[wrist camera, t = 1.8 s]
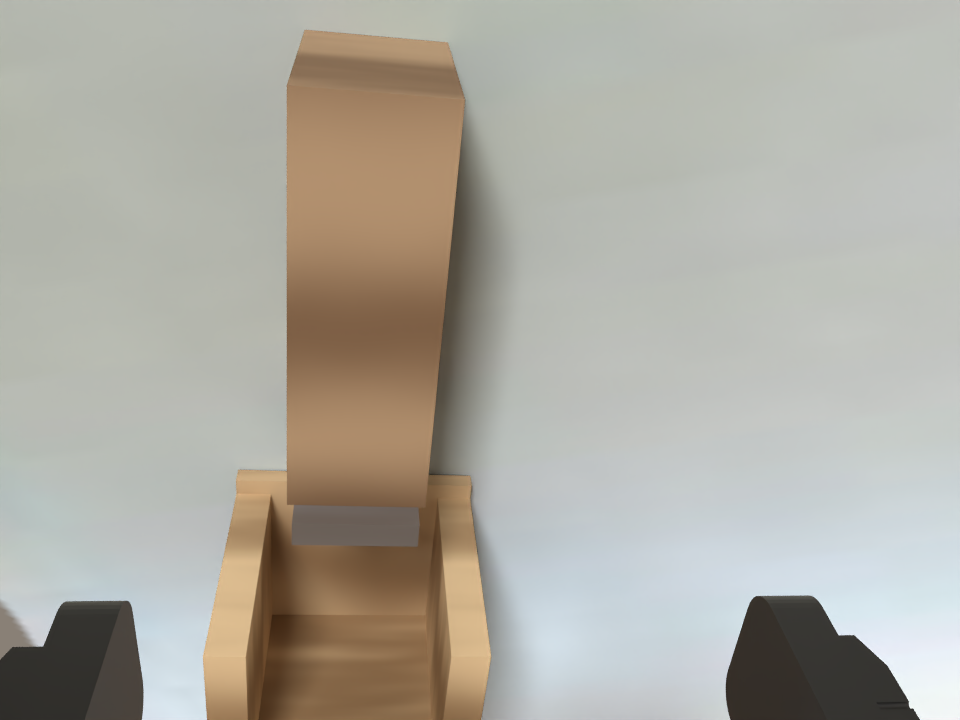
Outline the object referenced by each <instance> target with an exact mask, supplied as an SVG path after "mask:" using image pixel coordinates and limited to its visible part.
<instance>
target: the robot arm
mask: <svg viewBox="0 0 960 720" xmlns="http://www.w3.org/2000/svg"><path fill="white" fill-rule="evenodd" d="M726 700H727V707H728V712H729V716H730V719H731V720H920V719H919V717H918V716H917V714H916V713H915V711H914V709H910V708H909V701H908V699H907V698H906V696H905V694H904V693H903V691H902V689H901V688H900V686H899V684H898V683H897V681H896V679H895V678H894V676H893V674H892V673H891V671H890V669H889V668H888V666H887V665H886V664H885V663H884V662H883V661H882V660H880V659H879V658H878V657H877V656H876V655H875V654H874V653H873V652H872V651H871V650H870V649H868V648H867V647H866V646H865V645H864V644H863V643H862V642H861V641H860V640H859V639H858V638H857V637H855V636H854V635H844V636H838V634H837V632H836V630H835V628H834V627H833V625H832V623H831V621H830V620H829V618H828V616H827V614H826V613H825V611H824V609H823V607H822V606H821V604H820V603H819V602H818V600H817V599H815V598H814V597H812V596H756V597H754V598H753V599H752V600H751V602H750V604H749V607H748V609H747V613H746V616H745V619H744V622H743V625H742V628H741V631H740V635H739V638H738V641H737V644H736V647H735V650H734V653H733V657H732V660H731V663H730V666H729V669H728V673H727V678H726ZM142 713H143V680H142V673H141V666H140V660H139V653H138V646H137V639H136V632H135V625H134V618H133V612H132V607H131V604H130V603H129V602H128V601H72V602H64V603H63V604H62V605H61V606H60V608H59V609H58V611H57V614H56V616H55V619H54V621H53V624H52V626H51V629H50V631H49V634H48V636H47V639H46V641H45V644H44V646H43V647H12V648H11V649H10V650H9V651H8V652H7V653H6V654H5V656H4V657H3V658H2V659H1V660H0V720H142Z"/></svg>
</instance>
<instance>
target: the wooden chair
mask: <svg viewBox="0 0 960 720" xmlns="http://www.w3.org/2000/svg"><path fill="white" fill-rule="evenodd" d="M471 487H472V485H471V478H470V476H459V475H428V485H427V496H426V506H425V508H419V524H420V527H419V537H418V547H401V546H332V545H292V517H293V509H294V505H287V471H263V470H238V474H237V479H236V490H237V494H236V499H235V504H234V509H233V514H232V519H231V523H230V528H229V533H228V538H227V543H226V548H225V553H224V557H223V562H222V567H221V572H220V577H219V582H218V587H217V591H216V596H215V601H214V606H213V611H212V616H211V621H210V625H209V630H208V635H207V640H206V645H205V650H204V655H203V665H204V680H205V695H206V710H207V720H481V717H482V711H483V704H484V698H485V692H486V686H487V679H488V673H489V667H490V661H491V652H490V644H489V637H488V629H487V622H486V614H485V607H484V599H483V592H482V584H481V577H480V569H479V562H478V555H477V547H476V540H475V532H474V525H473V517H472V510H471V502H470V495H471Z"/></svg>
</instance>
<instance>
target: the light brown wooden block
mask: <svg viewBox="0 0 960 720" xmlns="http://www.w3.org/2000/svg"><path fill="white" fill-rule="evenodd" d="M464 105H465V98H464V95H463V91H462V88H461V85H460V81H459V78H458V75H457V71H456V68H455V65H454V62H453V58H452V55H451V52H450V48H449V45H448V43H446V42H435V41H424V40H413V39H401V38H390V37H379V36H368V35H357V34H346V33H334V32H323V31H312V30H305V31H304V34H303V37H302V40H301V43H300V46H299V49H298V53H297V56H296V59H295V62H294V65H293V68H292V71H291V74H290V77H289V80H288V83H287V505H294V509H293V517H292V545H332V546H401V547H418V537H419V527H420V524H419V508H425V506H426V496H427V485H428V475H429V465H430V454H431V444H432V434H433V424H434V413H435V403H436V393H437V383H438V372H439V362H440V352H441V341H442V331H443V321H444V311H445V300H446V290H447V280H448V270H449V259H450V249H451V239H452V228H453V218H454V208H455V198H456V187H457V177H458V167H459V157H460V146H461V136H462V126H463V116H464Z"/></svg>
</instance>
